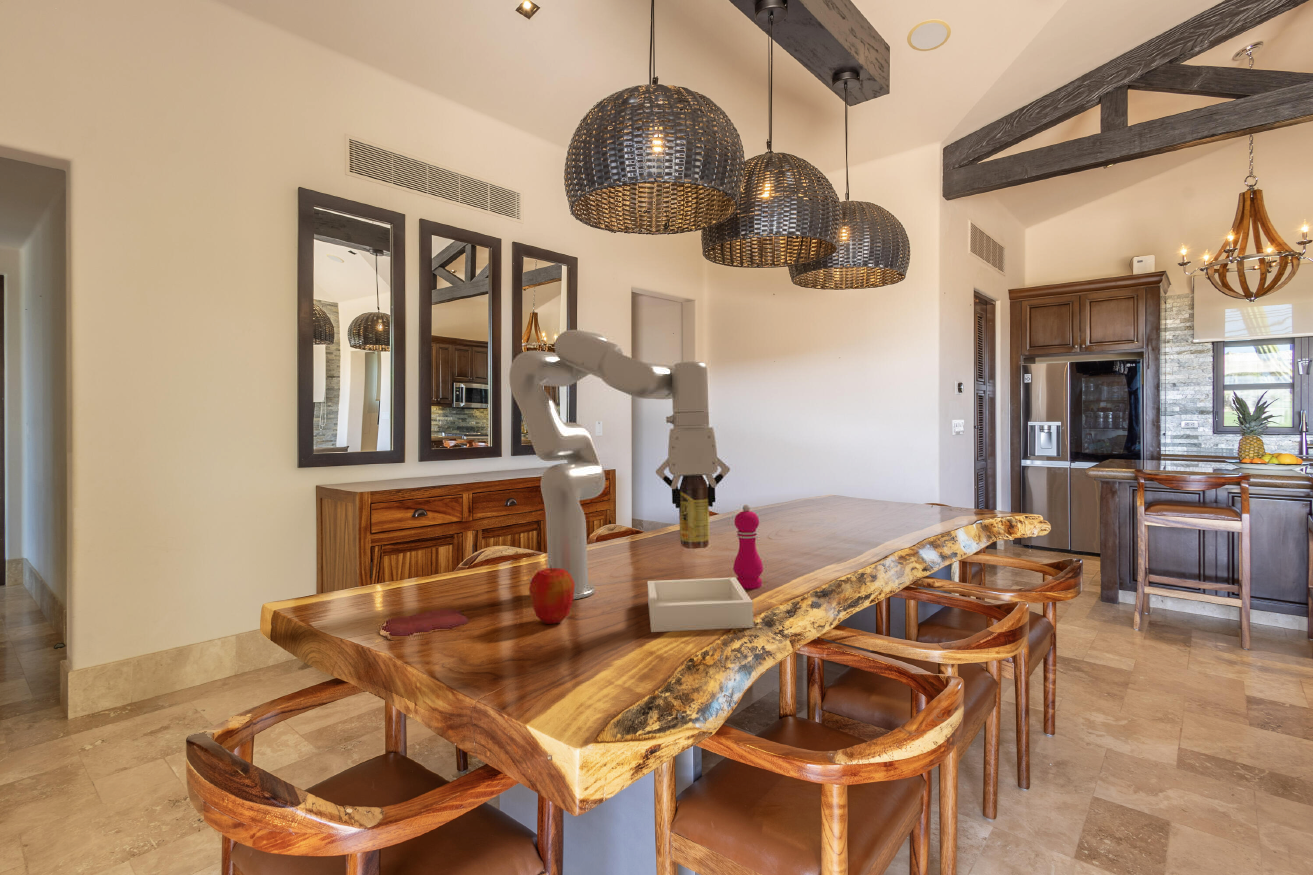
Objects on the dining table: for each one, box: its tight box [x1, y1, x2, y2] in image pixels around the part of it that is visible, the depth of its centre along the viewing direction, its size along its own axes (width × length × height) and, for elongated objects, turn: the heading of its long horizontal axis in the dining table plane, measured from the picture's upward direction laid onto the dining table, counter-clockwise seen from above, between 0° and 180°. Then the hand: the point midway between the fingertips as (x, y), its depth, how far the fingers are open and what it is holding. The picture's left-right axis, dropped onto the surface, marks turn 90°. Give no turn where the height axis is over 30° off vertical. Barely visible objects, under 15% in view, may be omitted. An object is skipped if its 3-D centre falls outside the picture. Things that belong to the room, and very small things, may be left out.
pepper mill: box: [733, 504, 764, 590], centre depth 152 cm, size 7×7×20 cm
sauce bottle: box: [678, 475, 710, 550], centre depth 130 cm, size 7×6×20 cm
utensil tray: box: [647, 576, 754, 633], centre depth 131 cm, size 20×20×5 cm
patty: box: [381, 608, 469, 636], centre depth 129 cm, size 18×14×2 cm
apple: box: [528, 565, 575, 625], centre depth 128 cm, size 9×9×12 cm
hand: (693, 505), depth 130 cm, fingers closed on sauce bottle, 6 cm apart
